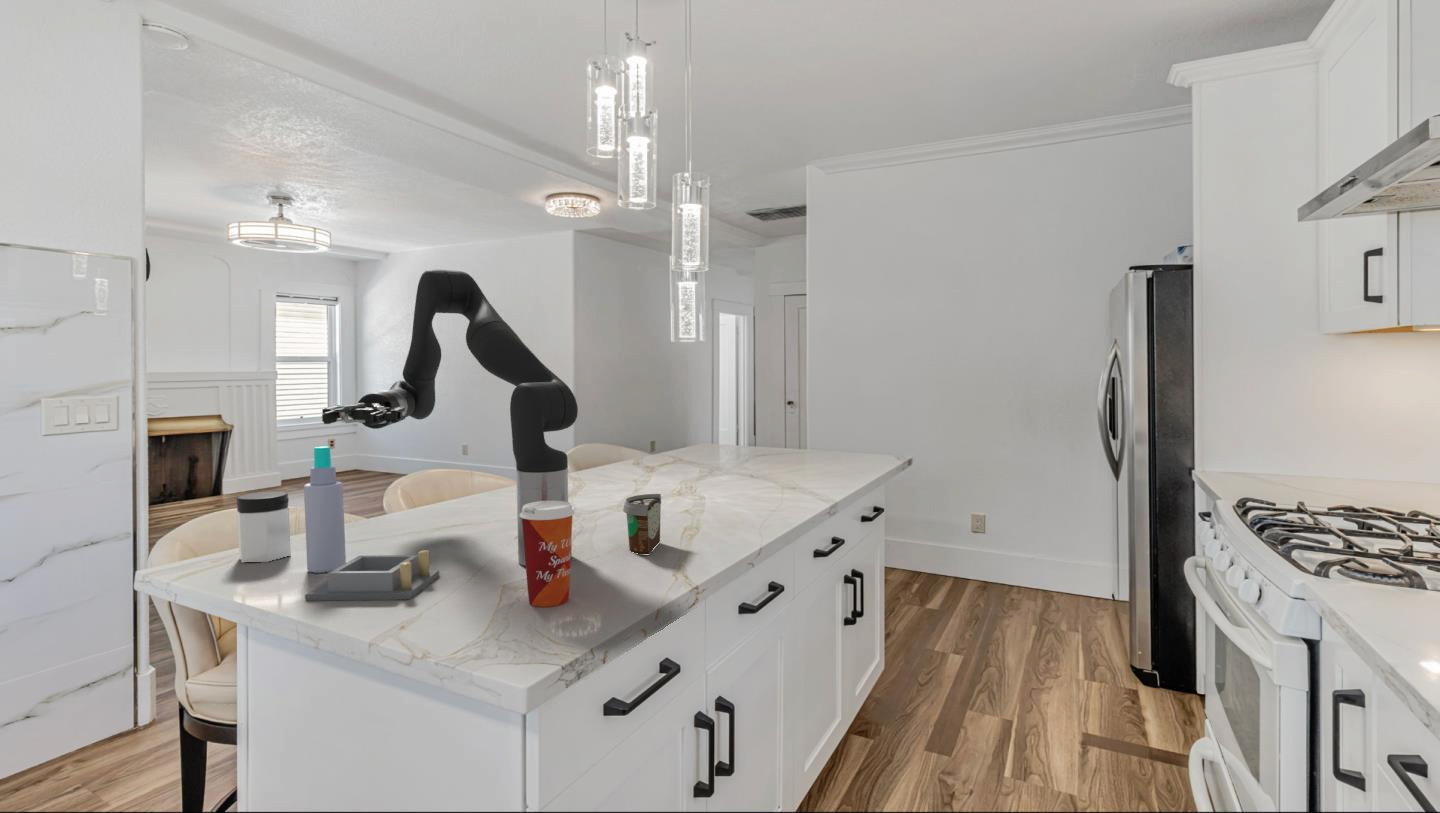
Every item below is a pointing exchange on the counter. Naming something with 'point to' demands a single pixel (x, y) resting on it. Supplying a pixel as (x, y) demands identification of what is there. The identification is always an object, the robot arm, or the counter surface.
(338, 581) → the dock
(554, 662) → the counter surface
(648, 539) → the food container
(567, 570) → the coffee cup
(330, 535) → the spray bottle
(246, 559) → the jar
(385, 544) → the counter surface
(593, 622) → the counter surface
